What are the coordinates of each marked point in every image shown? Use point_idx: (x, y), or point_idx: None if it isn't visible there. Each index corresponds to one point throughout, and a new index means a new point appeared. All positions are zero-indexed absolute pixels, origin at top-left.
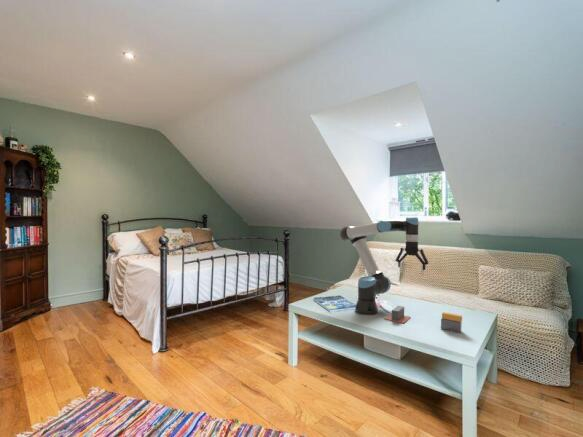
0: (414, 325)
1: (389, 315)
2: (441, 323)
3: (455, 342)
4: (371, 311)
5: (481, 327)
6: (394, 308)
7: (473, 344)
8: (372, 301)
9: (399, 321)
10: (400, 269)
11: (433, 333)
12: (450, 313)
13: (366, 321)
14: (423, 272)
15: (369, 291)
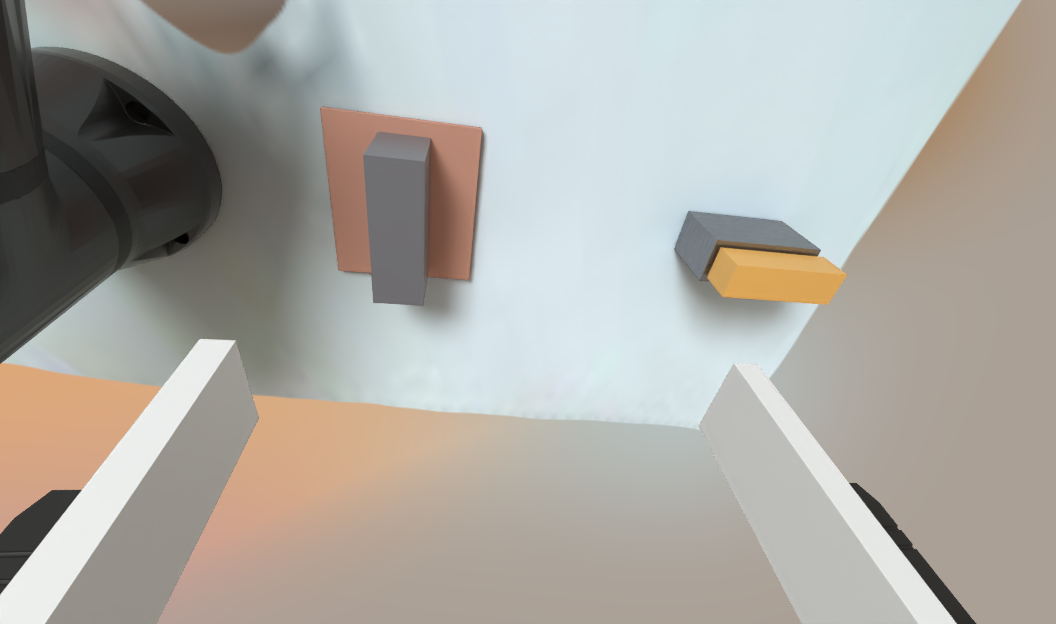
0: (530, 264)
1: (333, 191)
2: (689, 265)
3: (708, 362)
4: (196, 237)
5: (956, 60)
6: (372, 255)
7: (776, 345)
8: (133, 244)
9: (440, 273)
10: (214, 491)
11: (629, 320)
12: (780, 272)
13: (271, 345)
14: (781, 413)
15: (41, 330)
